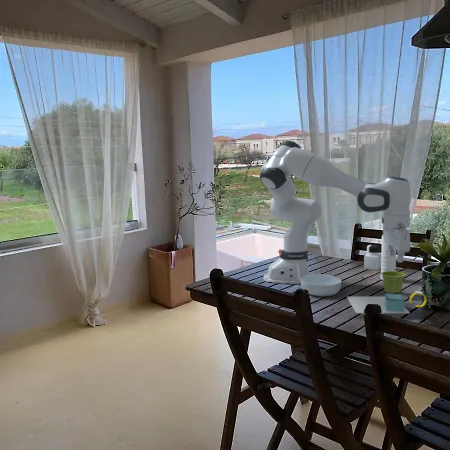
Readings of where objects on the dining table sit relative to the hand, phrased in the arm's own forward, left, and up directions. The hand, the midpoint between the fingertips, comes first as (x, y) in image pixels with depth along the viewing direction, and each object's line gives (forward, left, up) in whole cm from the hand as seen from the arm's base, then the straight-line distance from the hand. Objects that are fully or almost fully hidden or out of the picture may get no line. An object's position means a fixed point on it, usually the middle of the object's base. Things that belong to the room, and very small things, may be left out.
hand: (395, 258), depth 160 cm
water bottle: (+9, +45, -20) cm, 50 cm away
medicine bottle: (+7, +65, -20) cm, 68 cm away
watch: (+10, +6, -20) cm, 24 cm away
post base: (-5, +4, -20) cm, 21 cm away
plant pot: (+5, +22, -20) cm, 30 cm away
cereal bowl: (-25, +20, -21) cm, 37 cm away
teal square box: (0, -1, -19) cm, 19 cm away
